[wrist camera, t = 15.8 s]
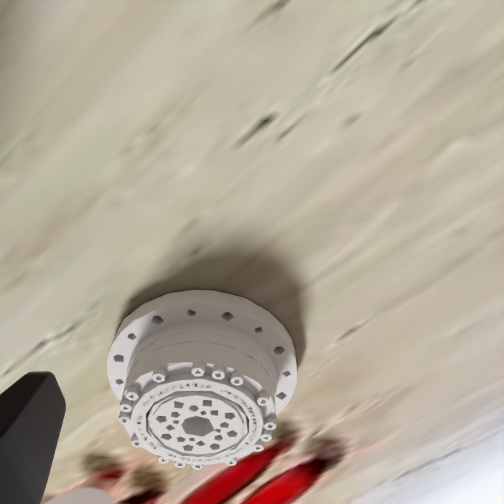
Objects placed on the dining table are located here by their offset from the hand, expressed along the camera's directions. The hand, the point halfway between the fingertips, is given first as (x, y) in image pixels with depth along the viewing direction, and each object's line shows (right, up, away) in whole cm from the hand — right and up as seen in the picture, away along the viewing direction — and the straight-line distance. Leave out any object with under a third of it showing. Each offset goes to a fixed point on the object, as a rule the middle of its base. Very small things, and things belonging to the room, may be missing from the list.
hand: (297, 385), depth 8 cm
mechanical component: (-3, -3, +18) cm, 18 cm away
